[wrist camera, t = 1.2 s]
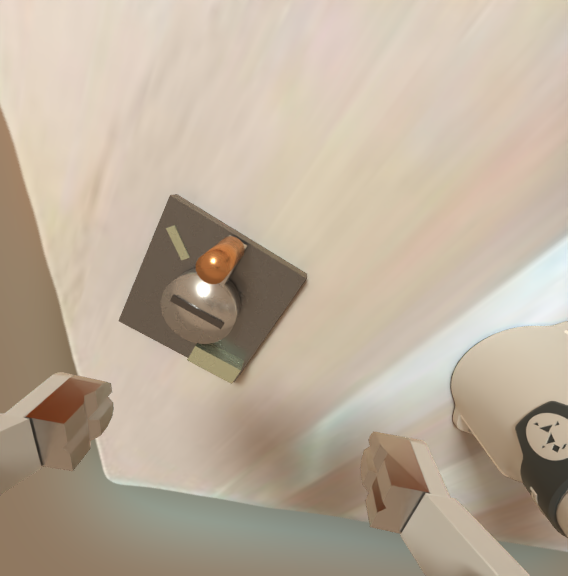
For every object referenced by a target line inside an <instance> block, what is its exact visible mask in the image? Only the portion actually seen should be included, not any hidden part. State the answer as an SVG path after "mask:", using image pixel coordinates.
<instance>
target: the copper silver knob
mask: <svg viewBox="0 0 568 576" xmlns="http://www.w3.org/2000/svg"><path fill="white" fill-rule="evenodd" d="M246 247H247V245H245V244H244V243H242V242H241V240H239V239H238V238H236V237H233V236H231V235H229V236H228V237H226V238H224V239H223V240H221V241H220V242H219V243H218V244H216V245H215V246H214V247H212V248H211V249H210V250H209V251H207V252H206V253H205V254H203V255H202V256H201V257H200V258H199V259H198V260H197V262H196V268H195V269H191V270H188V271H186V272H184V273H183V274H181V275H180V276H179V277H177V278H176V279H175V280H174V281H172V282H171V283H170V284H169V285H168V286H167V287H166V289H165V290H164V292H163V295H162V298H161V311H162V315H163V317H164V319H165V321H166V323H167V324H168V326H169V327H170V328H171V329H172V330H173V331H174V332H175V333H176V334H177V335H178V336H180V337H182V338H183V339H185V340H187V341H190V342H193V343H198V344H210V343H215V342H217V341H220V340H222V339H223V338H225V337H226V336H227V335H228V334H229V333H230V331H231V330H232V328H233V326H234V324H235V322H236V320H237V318H238V316H239V313H240V309H241V300H240V296H239V293H238V291H237V289H236V287H235V286H234V284H233V283H232V282H231V281H230V280H229V277H230V276H231V274H232V272H233V270H234V269H235V267H236V265H237V263H238V261H239V260H240V259H241V258H242V256H243V255H244V251H245V249H246Z"/></svg>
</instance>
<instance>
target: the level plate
mask: <svg viewBox="0 0 568 576" xmlns="http://www.w3.org/2000/svg"><path fill="white" fill-rule="evenodd" d="M229 235H231V236H233V237H236V238H238V239H239V240H241V242H242V243H244V244H245V245H247V247H246V249H245V251H244V255H243V256H242V258H241V259H240V260H239V261H238V263H237V265H236V267H235V269H234V270H233V272H232V274H231V276H230V277H229V280H230V281H231V282H232V283H233V284H234V286H235V287H236V289H237V291H238V293H239V296H240V300H241V309H240V313H239V316H238V318H237V320H236V322H235V324H234V326H233V328H232V330H231V331H230V333H229V334H228V335H227V336H226V337H225V338H223V339H222V340H220V341H217V342H215V343H210V344H198V343H193V342H190V341H187V340H185V339H183V338H182V337H180V336H178V335H177V334H176V333H175V332H174V331H173V330H172V329H171V328H170V327H169V326H168V324H167V323H166V321H165V319H164V317H163V315H162V311H161V298H162V295H163V292H164V290H165V289H166V287H167V286H168V285H169V284H170V283H171V282H172V281H174V280H175V279H176V278H177V277H179V276H180V275H181V274H183V273H184V272H186V271H188V270H191V269H195V268H196V262H197V260H198V259H199V258H200V257H201V256H202V255H203V254H205V253H206V252H207V251H209V250H210V249H211V248H212V247H214V246H215V245H216V244H218V243H219V242H220V241H221V240H223V239H224V238H226V237H228V236H229ZM306 279H307V274H306V273H305V272H303V271H302V270H300V269H298V268H297V267H295V266H293V265H292V264H290V263H288V262H287V261H285V260H284V259H282V258H280V257H279V256H277V255H275V254H274V253H272V252H270V251H269V250H267V249H266V248H264V247H262V246H261V245H259V244H257V243H256V242H254V241H252V240H251V239H249V238H248V237H246V236H244V235H243V234H241V233H239V232H238V231H236V230H234V229H233V228H231V227H230V226H228V225H226V224H225V223H223V222H221V221H220V220H218V219H216V218H215V217H213V216H212V215H210V214H208V213H207V212H205V211H203V210H202V209H200V208H198V207H197V206H195V205H194V204H192V203H190V202H189V201H187V200H185V199H184V198H182V197H180V196H179V195H177V194H175V195H170V197H169V199H168V202H167V204H166V206H165V209H164V211H163V214H162V216H161V219H160V221H159V223H158V226H157V228H156V231H155V233H154V236H153V238H152V241H151V243H150V245H149V248H148V250H147V253H146V255H145V258H144V260H143V263H142V265H141V267H140V270H139V272H138V275H137V277H136V280H135V282H134V285H133V287H132V289H131V292H130V294H129V297H128V299H127V302H126V304H125V307H124V309H123V311H122V314H121V316H120V319H119V321H120V322H122V323H123V324H125V325H127V326H129V327H131V328H133V329H135V330H137V331H139V332H140V333H142V334H144V335H146V336H148V337H150V338H152V339H154V340H155V341H157V342H159V343H161V344H163V345H165V346H167V347H169V348H171V349H172V350H174V351H176V352H178V353H180V354H182V355H184V356H186V357H187V358H188V359H187V360H188V361H190V362H192V363H194V364H195V365H197V366H199V367H201V368H203V369H205V370H207V371H209V372H211V373H212V374H214V375H216V376H218V377H220V378H222V379H224V380H226V381H228V382H229V383H231V384H232V383H233V382H235V381H236V379H237V378H238V376H239V375H240V373H241V372H242V370H243V369H244V368H245V366H246V365H247V363H248V362H249V360H250V359H251V358H252V356H253V355H254V353H255V352H256V350H257V349H258V347H259V346H260V345H261V343H262V342H263V340H264V339H265V337H266V336H267V335H268V333H269V332H270V330H271V329H272V327H273V326H274V325H275V323H276V322H277V320H278V319H279V317H280V316H281V314H282V313H283V312H284V310H285V309H286V307H287V306H288V304H289V303H290V302H291V300H292V299H293V297H294V296H295V294H296V293H297V291H298V290H299V289H300V287H301V286H302V284H303V283H304V281H305V280H306Z"/></svg>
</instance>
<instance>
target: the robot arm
mask: <svg viewBox="0 0 568 576" xmlns="http://www.w3.org/2000/svg"><path fill="white" fill-rule="evenodd" d="M451 390H452V395H453V398H454V401H455V410H454V414H453V422H454V424H455V425H456V426H457V428H458V429H459V430H461V431H464V432H467V433H470V434H472V435H474V436H475V437H476V439H477V440H478V442H479V443H480V444H481V446H482V447H483V449H484V450H485V451H486V453H487V454H488V456H489V457H490V458H491V460H492V461H493V463H494V464H495V465H496V467H497V468H498V470H499V471H500V472H501V473H502V474H503V475H504V476H506V477H510V478H512V479H513V480H516V481H518V482H522V483H523V484H524V485H525V487H526V488H527V490H528V491H529V493H530V494H531V496H532V499H533V500H534V502H535V504H536V505H537V506H538V508H539V509H540V511H541V512H542V513H543V514H544V515H545V516H546V517H547V518H548V520H549V521H550V522H551V524H552V525H553V526H554V528H555V529H556V530H557V531H558V532H559V533H561V534H562V535H563V536H565V537H567V538H568V321H566V322H562V323H559V324H556V325H552V326H524V327H517V328H512V329H508V330H505V331H502V332H499V333H496V334H494V335H492V336H490V337H488V338H486V339H484V340H482V341H481V342H479V343H478V344H476V345H475V346H474V347H473V348H471V349H470V350H469V351H468V352H467V353H466V354H465V355H464V356H463V357H462V359H461V360H460V361H459V363H458V365H457V366H456V368H455V370H454V373H453V376H452V381H451ZM111 393H112V387H111V383H109V382H105V381H101V380H96V379H91V378H87V377H82V376H77V375H71V374H66V373H62V372H59V373H56V374H53V375H52V376H51V377H49V378H48V379H47V380H46V381H44V382H43V383H42V384H41V385H39V386H38V387H37V388H36V389H34V390H33V391H32V392H31V393H29V394H28V395H27V396H26V397H24V398H23V399H22V400H21V401H19V402H18V403H17V404H16V405H14V406H13V407H12V408H11V409H9V410H8V411H7V412H6V413H5V414H2V413H0V495H1V494H3V493H4V492H6V491H8V490H9V489H11V488H12V487H14V486H15V485H17V484H18V483H20V482H21V481H23V480H24V479H26V478H27V477H29V476H30V475H32V474H34V473H35V472H37V471H38V470H40V469H41V468H42V466H43V467H50V468H56V469H63V470H69V471H73V470H74V469H75V468H76V467H77V465H78V464H79V463H80V462H81V460H82V459H83V458H84V457H85V455H86V454H87V453H88V451H89V450H90V444H91V440H93V439H95V438H97V437H99V436H100V435H102V433H103V432H104V431H105V429H106V428H107V427H108V424H109V422H110V420H111V418H112V415H113V410H114V407H113V402H112V401H111V399H110V398H109V397H108V396H109V395H110V394H111ZM369 444H370V447H368V448H367V449H365V450H364V452H363V455H362V458H361V466H360V468H361V479H362V484H363V486H364V487H365V488H366V490H367V491H368V495H367V498H366V500H365V502H366V507H367V513H368V518H369V523H370V527H373V528H377V529H382V530H386V531H391V532H396V533H400V534H401V535H400V536H401V537H402V539H403V541H404V542H405V544H406V545H407V547H408V549H409V550H410V552H411V553H412V555H413V557H414V558H415V560H416V561H417V563H418V565H419V566H420V568H421V569H422V571H423V572H424V574H425V576H530V575H529V574H528V573H527V572H526V571H525V570H524V569H523V568H522V567H521V565H520V564H518V562H517V561H516V560H515V559H514V558H513V557H512V556H511V555H510V554H509V553H508V552H507V551H506V550H505V549H504V548H503V547H502V546H501V545H500V544H499V543H498V542H497V541H496V540H495V539H494V538H493V537H492V536H491V534H490V533H489V532H488V531H487V530H486V529H485V528H484V527H483V526H482V525H481V524H480V523H479V522H478V521H477V520H476V519H475V518H474V517H473V516H472V515H471V514H470V513H469V512H468V511H467V510H466V509H465V508H464V507H463V506H462V505H461V503H460V502H459V501H458V500H457V499H455V498H451V497H450V495H449V493H448V491H447V488H446V486H445V484H444V482H443V480H442V477H441V475H440V473H439V471H438V468H437V466H436V464H435V462H434V459H433V457H432V455H431V453H430V451H429V448H428V446H427V444H426V443H425V442H424V441H423V440H418V439H413V438H405V437H402V436H397V435H391V434H385V433H379V432H373V433H372V434H371V435H370V437H369Z"/></svg>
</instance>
